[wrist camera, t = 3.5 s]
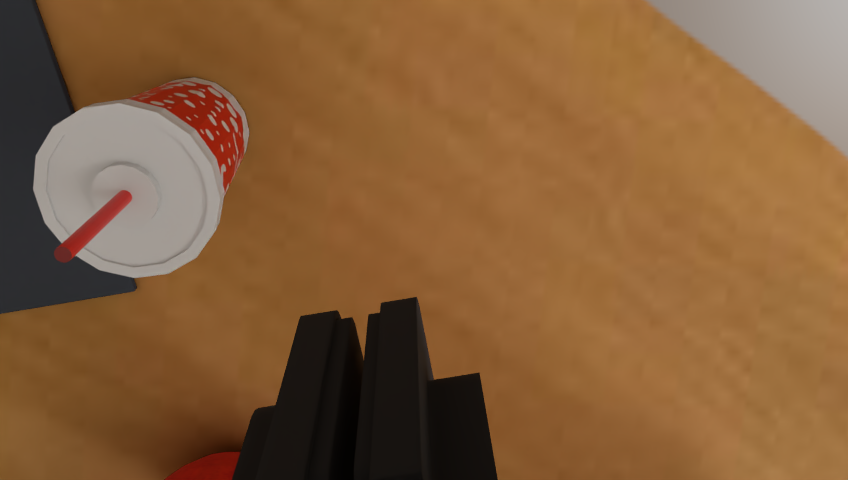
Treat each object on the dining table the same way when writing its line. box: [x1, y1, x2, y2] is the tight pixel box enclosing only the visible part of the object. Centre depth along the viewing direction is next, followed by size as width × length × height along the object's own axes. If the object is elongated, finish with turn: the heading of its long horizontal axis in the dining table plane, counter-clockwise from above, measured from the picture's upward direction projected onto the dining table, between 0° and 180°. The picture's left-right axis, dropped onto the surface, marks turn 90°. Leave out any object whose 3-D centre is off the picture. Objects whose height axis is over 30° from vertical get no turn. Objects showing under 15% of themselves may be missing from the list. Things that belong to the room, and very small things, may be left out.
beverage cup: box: [33, 77, 249, 278], centre depth 27 cm, size 6×6×14 cm
